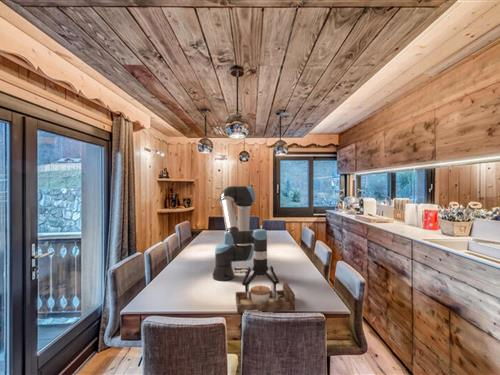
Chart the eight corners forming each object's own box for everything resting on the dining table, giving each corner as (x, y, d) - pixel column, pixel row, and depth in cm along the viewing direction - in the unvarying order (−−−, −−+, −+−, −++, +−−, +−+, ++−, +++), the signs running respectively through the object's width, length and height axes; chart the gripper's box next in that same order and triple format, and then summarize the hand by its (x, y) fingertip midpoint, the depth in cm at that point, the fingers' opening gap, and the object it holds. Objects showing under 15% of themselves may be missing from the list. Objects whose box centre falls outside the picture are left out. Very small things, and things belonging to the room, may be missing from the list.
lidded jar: (268, 299, 147) (268, 282, 147) (271, 307, 136) (271, 290, 136) (249, 299, 146) (250, 282, 146) (250, 308, 136) (250, 290, 136)
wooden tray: (237, 313, 132) (237, 297, 132) (235, 299, 148) (235, 285, 148) (294, 310, 135) (294, 294, 135) (287, 296, 151) (287, 283, 151)
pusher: (276, 307, 136) (276, 294, 136) (271, 297, 149) (271, 285, 149) (285, 307, 136) (285, 294, 136) (279, 296, 149) (280, 284, 149)
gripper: (237, 261, 136) (238, 301, 136) (284, 258, 139) (284, 298, 139) (236, 257, 144) (237, 295, 143) (281, 255, 146) (281, 292, 146)
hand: (260, 297), depth 141 cm, fingers open, 13 cm apart
